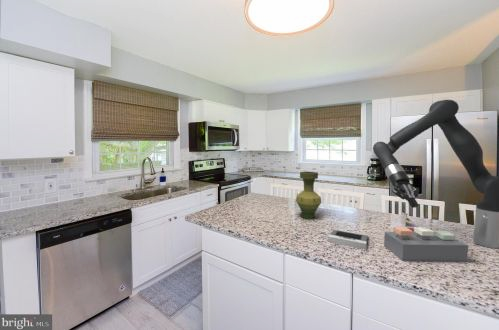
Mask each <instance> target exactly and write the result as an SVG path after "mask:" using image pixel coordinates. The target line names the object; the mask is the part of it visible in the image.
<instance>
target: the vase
mask: <svg viewBox="0 0 499 330" xmlns="http://www.w3.org/2000/svg"><path fill="white" fill-rule="evenodd" d="M299 178H300V179H302V181H303V190H302V191H301V192H299V193H298V194H297V195H296V197H295V198H296V199H295V202H296V203H297V206H298V208H299V209H300V211H301V215H300V218H301V219H303V220H308V221H309V220H310V221H311V220H315V219H316V211H317V210H318V208H319V207H320V205H321V204H322V197H321V196H320V195H319V194H318V193H316V191H314V184H315V181H316V180H317V179H318V178H319V173H318V172H317V171H301V172H300V173H299Z"/></svg>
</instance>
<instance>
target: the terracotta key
mask: <svg viewBox="0 0 499 330" xmlns="http://www.w3.org/2000/svg"><path fill="white" fill-rule="evenodd" d="M408 228H409V227H406V226H393V231H394V232H396V233H397V237H398V238H399V239H401V240H408V236H412V234H413V231H411V230H410V229H408Z"/></svg>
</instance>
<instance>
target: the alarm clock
mask: <svg viewBox="0 0 499 330" xmlns="http://www.w3.org/2000/svg"><path fill="white" fill-rule="evenodd" d="M368 240H369V234H367V233H365V234H364V233H360V232H353V231H348V230H343V229H336V228H333V229H332V231H331V232H330V234H329V235H327V242H329V243H331V244H332V243H333V244H338V245H341V246H348V247H352V248H356V249H362V250H367V242H368Z"/></svg>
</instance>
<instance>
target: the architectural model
mask: <svg viewBox="0 0 499 330" xmlns="http://www.w3.org/2000/svg"><path fill="white" fill-rule="evenodd" d="M408 216H409V215H408V213H404V212H403V211H402V212H401V219H400V220H401V225H402V226H403V227H406V226H407V224H409V223H414V222H413V220H411V219H410V218H409V217H408Z"/></svg>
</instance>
